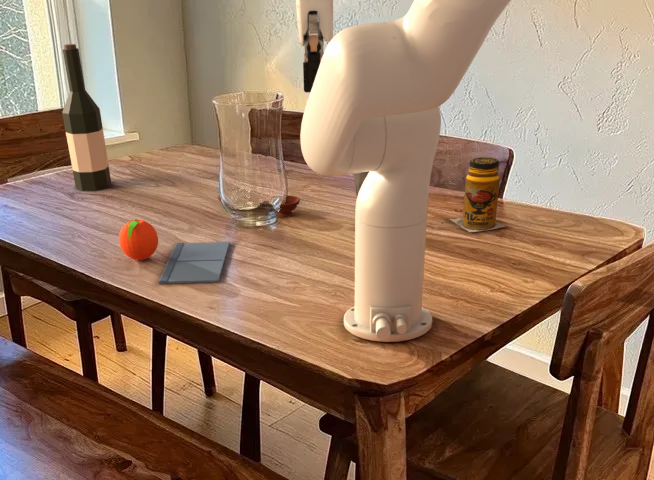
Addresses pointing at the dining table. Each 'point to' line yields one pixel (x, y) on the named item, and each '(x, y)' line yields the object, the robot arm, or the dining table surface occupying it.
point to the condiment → (481, 196)
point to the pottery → (285, 206)
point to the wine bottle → (84, 129)
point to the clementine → (138, 239)
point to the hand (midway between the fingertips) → (314, 86)
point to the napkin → (195, 263)
